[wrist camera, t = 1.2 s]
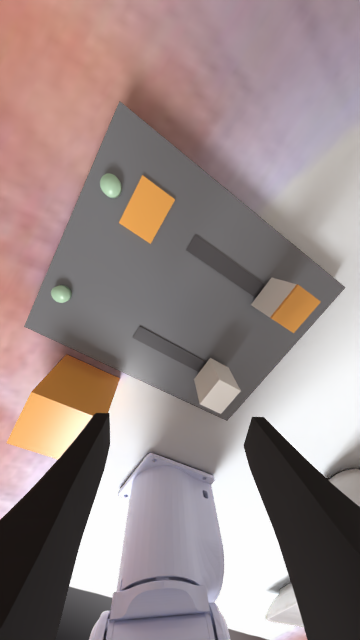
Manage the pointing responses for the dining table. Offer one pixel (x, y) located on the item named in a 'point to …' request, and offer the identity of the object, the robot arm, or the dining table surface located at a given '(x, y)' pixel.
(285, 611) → the tray
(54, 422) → the cap
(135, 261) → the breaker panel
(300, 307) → the block
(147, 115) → the dining table surface
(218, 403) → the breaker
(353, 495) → the teacup
